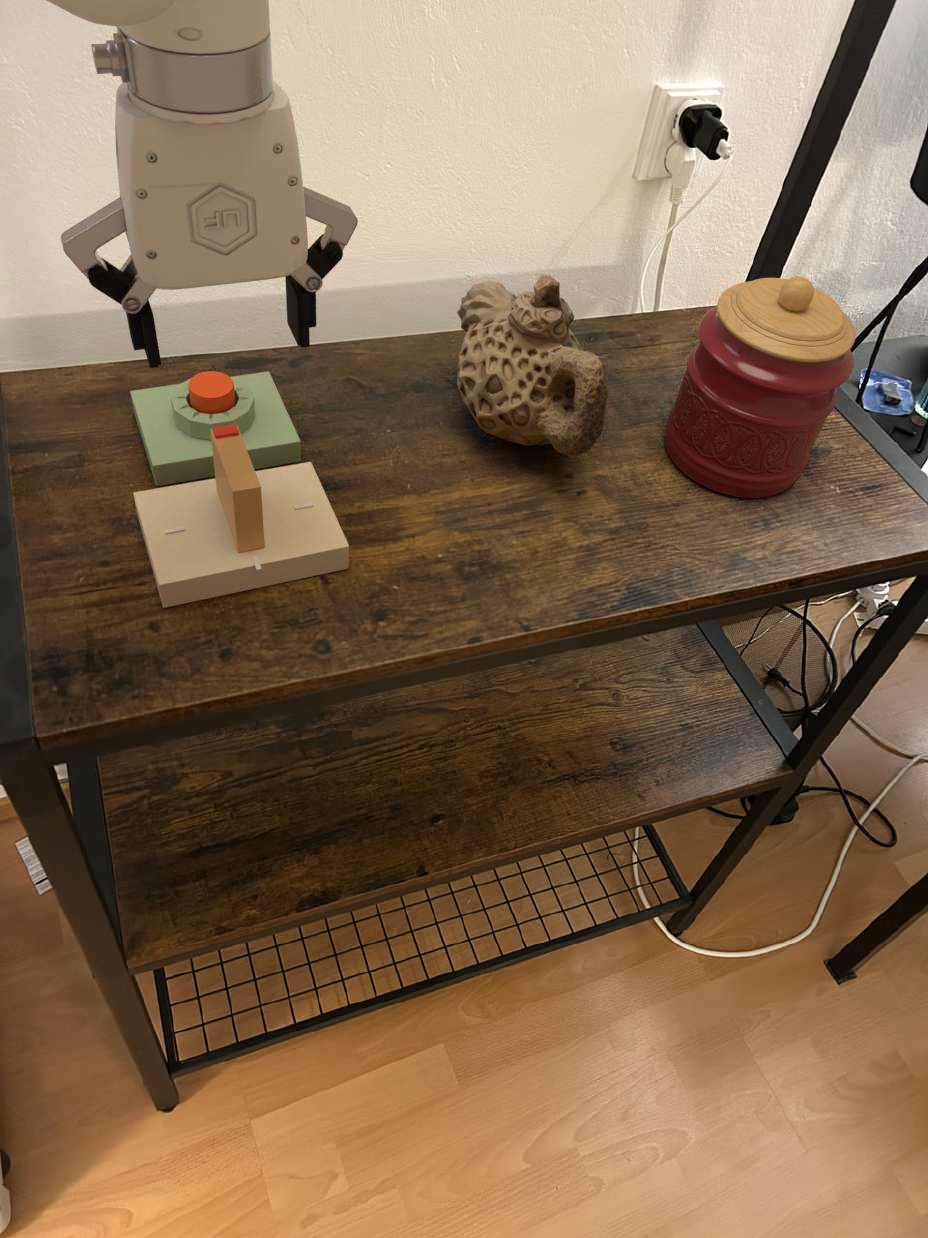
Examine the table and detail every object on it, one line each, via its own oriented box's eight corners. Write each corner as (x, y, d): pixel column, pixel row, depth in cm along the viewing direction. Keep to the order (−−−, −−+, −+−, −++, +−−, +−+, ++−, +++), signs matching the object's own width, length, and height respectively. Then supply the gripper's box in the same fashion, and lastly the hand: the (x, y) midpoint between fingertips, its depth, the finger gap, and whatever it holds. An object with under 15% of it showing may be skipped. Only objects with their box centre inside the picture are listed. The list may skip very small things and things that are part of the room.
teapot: (411, 376, 92) (424, 224, 80) (517, 354, 96) (543, 206, 85) (521, 524, 80) (554, 370, 69) (635, 491, 84) (684, 342, 73)
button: (195, 418, 79) (193, 400, 77) (186, 391, 81) (184, 373, 79) (239, 411, 80) (238, 393, 78) (229, 385, 82) (227, 368, 80)
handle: (264, 547, 72) (260, 483, 67) (238, 552, 71) (232, 488, 66) (242, 485, 76) (237, 421, 71) (216, 490, 75) (209, 425, 70)
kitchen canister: (635, 424, 90) (689, 247, 77) (745, 399, 95) (814, 228, 82) (713, 515, 83) (788, 337, 70) (829, 484, 88) (919, 312, 75)
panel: (164, 614, 70) (160, 589, 68) (136, 510, 76) (131, 485, 74) (351, 574, 74) (352, 549, 72) (309, 479, 81) (309, 455, 79)
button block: (156, 486, 78) (149, 447, 75) (133, 411, 84) (126, 372, 81) (301, 461, 82) (300, 423, 79) (270, 391, 88) (268, 353, 85)
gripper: (31, 105, 46) (98, 399, 59) (379, 86, 51) (370, 360, 64) (15, 42, 50) (81, 330, 63) (337, 31, 55) (337, 298, 69)
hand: (226, 345), depth 64 cm, fingers open, 9 cm apart
